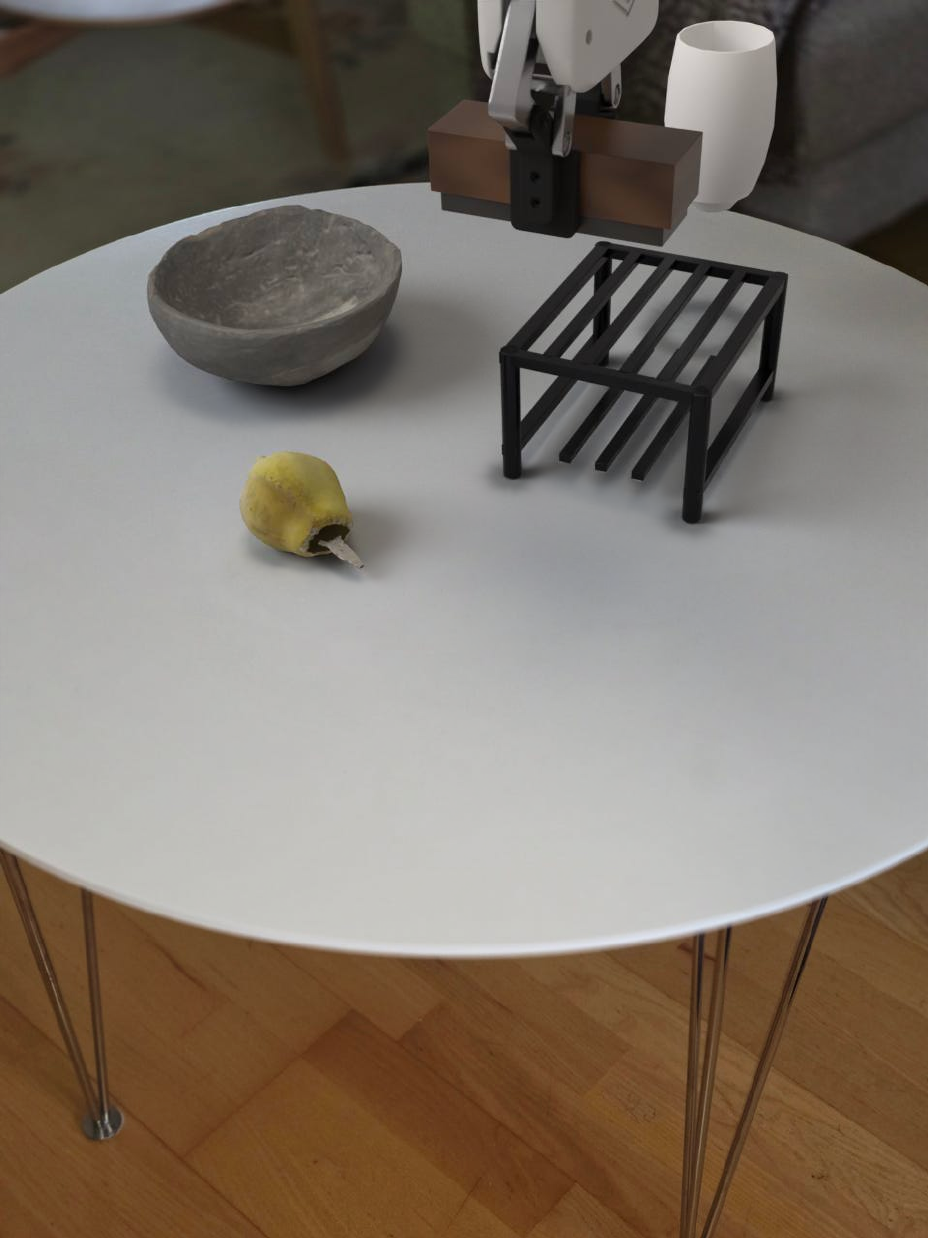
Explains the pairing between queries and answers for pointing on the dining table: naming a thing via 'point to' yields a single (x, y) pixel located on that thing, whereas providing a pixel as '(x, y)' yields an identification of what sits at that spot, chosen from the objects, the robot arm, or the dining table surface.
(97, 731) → the dining table surface
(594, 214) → the brown wooden block
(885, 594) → the dining table surface
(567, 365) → the rack
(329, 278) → the bowl
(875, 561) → the dining table surface
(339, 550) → the fruit
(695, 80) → the cup
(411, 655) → the dining table surface
